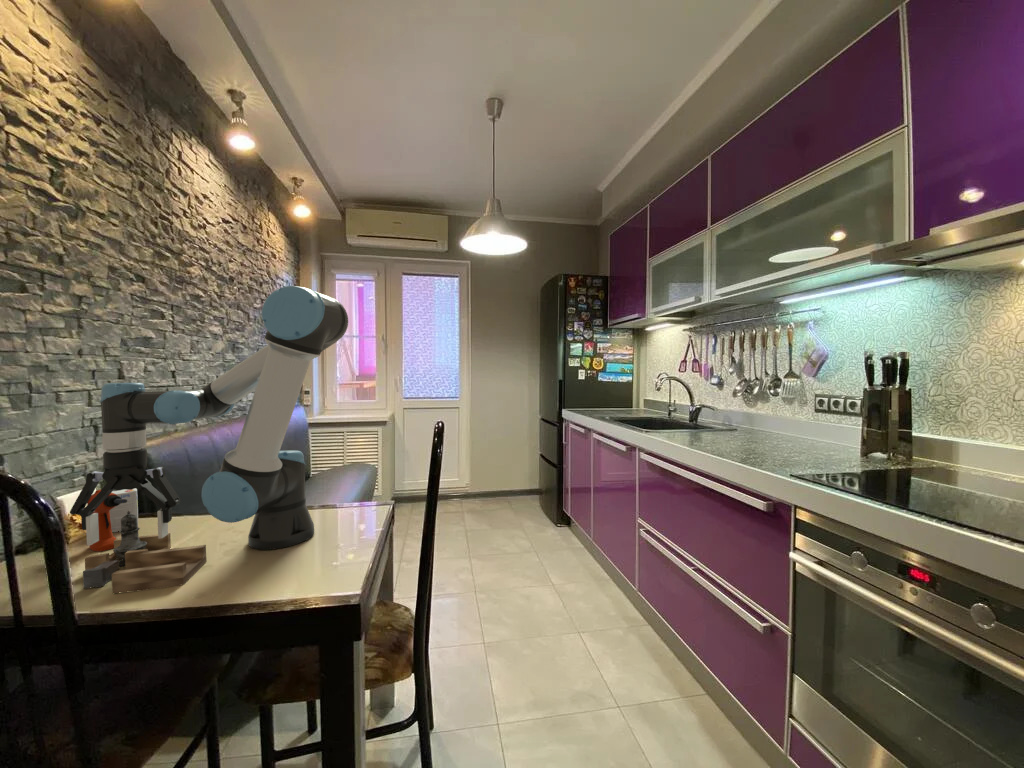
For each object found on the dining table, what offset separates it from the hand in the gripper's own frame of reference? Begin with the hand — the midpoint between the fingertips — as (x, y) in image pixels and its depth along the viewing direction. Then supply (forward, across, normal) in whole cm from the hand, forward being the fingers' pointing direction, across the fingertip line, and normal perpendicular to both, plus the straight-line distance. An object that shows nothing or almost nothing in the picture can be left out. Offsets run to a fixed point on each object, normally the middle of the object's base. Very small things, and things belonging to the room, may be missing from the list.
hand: (128, 539), depth 99 cm
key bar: (+5, 0, +10) cm, 11 cm away
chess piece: (+5, 0, 0) cm, 5 cm away
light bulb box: (+6, +17, -30) cm, 35 cm away
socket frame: (+5, 0, 0) cm, 5 cm away
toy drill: (+6, +9, -10) cm, 14 cm away
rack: (+5, -12, +12) cm, 17 cm away
